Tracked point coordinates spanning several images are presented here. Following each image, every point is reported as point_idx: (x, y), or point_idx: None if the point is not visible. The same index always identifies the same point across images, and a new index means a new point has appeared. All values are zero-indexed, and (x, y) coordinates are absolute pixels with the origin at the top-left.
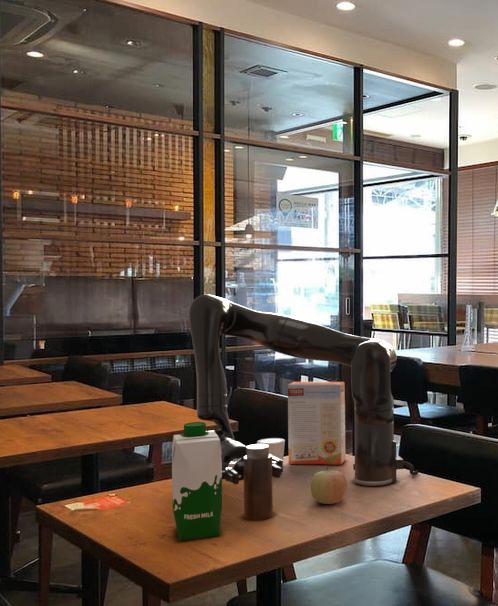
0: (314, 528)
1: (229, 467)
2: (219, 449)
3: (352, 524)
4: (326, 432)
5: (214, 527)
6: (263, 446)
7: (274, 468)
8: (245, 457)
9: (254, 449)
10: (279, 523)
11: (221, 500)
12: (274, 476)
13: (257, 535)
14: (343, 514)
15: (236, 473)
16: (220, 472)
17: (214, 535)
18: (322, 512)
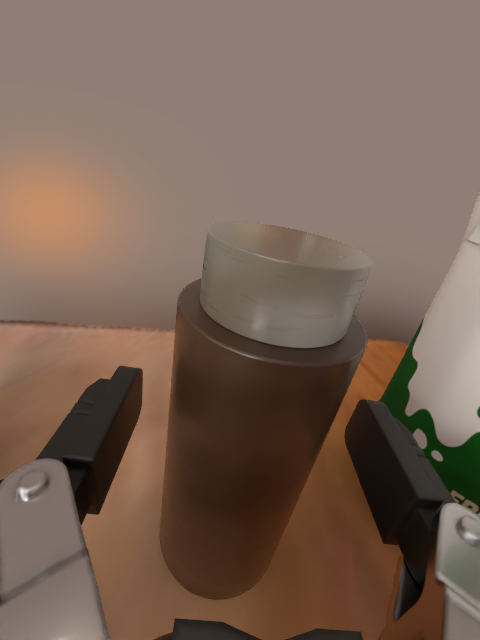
0: (154, 356)
1: (475, 574)
2: (476, 203)
3: (81, 333)
4: None
5: None
6: (254, 229)
7: (128, 399)
8: (354, 325)
9: (318, 238)
10: None
11: (390, 382)
12: (130, 435)
13: None
14: (21, 375)
15: (375, 401)
16: (434, 298)
17: None
18: (35, 418)
